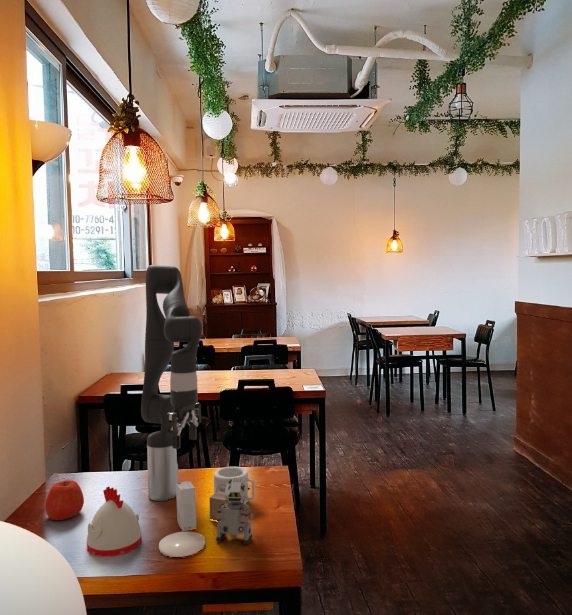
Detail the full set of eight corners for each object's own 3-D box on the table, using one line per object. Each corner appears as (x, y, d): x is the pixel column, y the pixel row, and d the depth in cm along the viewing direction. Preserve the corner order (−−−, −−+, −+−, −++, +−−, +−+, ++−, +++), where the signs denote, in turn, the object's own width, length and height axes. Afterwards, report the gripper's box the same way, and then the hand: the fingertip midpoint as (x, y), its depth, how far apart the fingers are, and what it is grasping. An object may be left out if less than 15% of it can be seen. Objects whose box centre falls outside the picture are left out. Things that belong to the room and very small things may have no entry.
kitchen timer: (122, 526, 152) (121, 475, 151) (151, 541, 143) (150, 486, 142) (76, 545, 141) (75, 490, 140) (105, 562, 132) (104, 503, 132)
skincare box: (197, 529, 149) (196, 487, 149) (181, 532, 147) (180, 490, 147) (191, 520, 155) (190, 480, 154) (176, 523, 153) (175, 482, 152)
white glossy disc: (175, 532, 148) (175, 528, 148) (213, 539, 143) (213, 535, 143) (149, 552, 137) (149, 548, 137) (189, 561, 132) (189, 557, 132)
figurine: (258, 529, 149) (258, 477, 148) (245, 549, 138) (245, 493, 137) (228, 525, 151) (227, 474, 151) (213, 545, 140) (212, 490, 140)
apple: (70, 525, 152) (69, 489, 152) (36, 522, 154) (35, 486, 154) (91, 509, 163) (90, 475, 162) (59, 506, 165) (58, 473, 164)
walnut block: (218, 513, 159) (217, 491, 159) (232, 516, 158) (232, 493, 157) (209, 520, 155) (209, 497, 154) (225, 523, 153) (224, 500, 152)
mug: (207, 506, 164) (207, 475, 164) (224, 493, 174) (224, 464, 174) (247, 513, 159) (246, 481, 159) (262, 500, 169) (261, 469, 169)
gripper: (186, 381, 157) (187, 435, 158) (157, 391, 144) (158, 450, 145) (208, 383, 154) (209, 438, 155) (181, 393, 141) (182, 453, 142)
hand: (184, 443), depth 150 cm, fingers open, 8 cm apart
